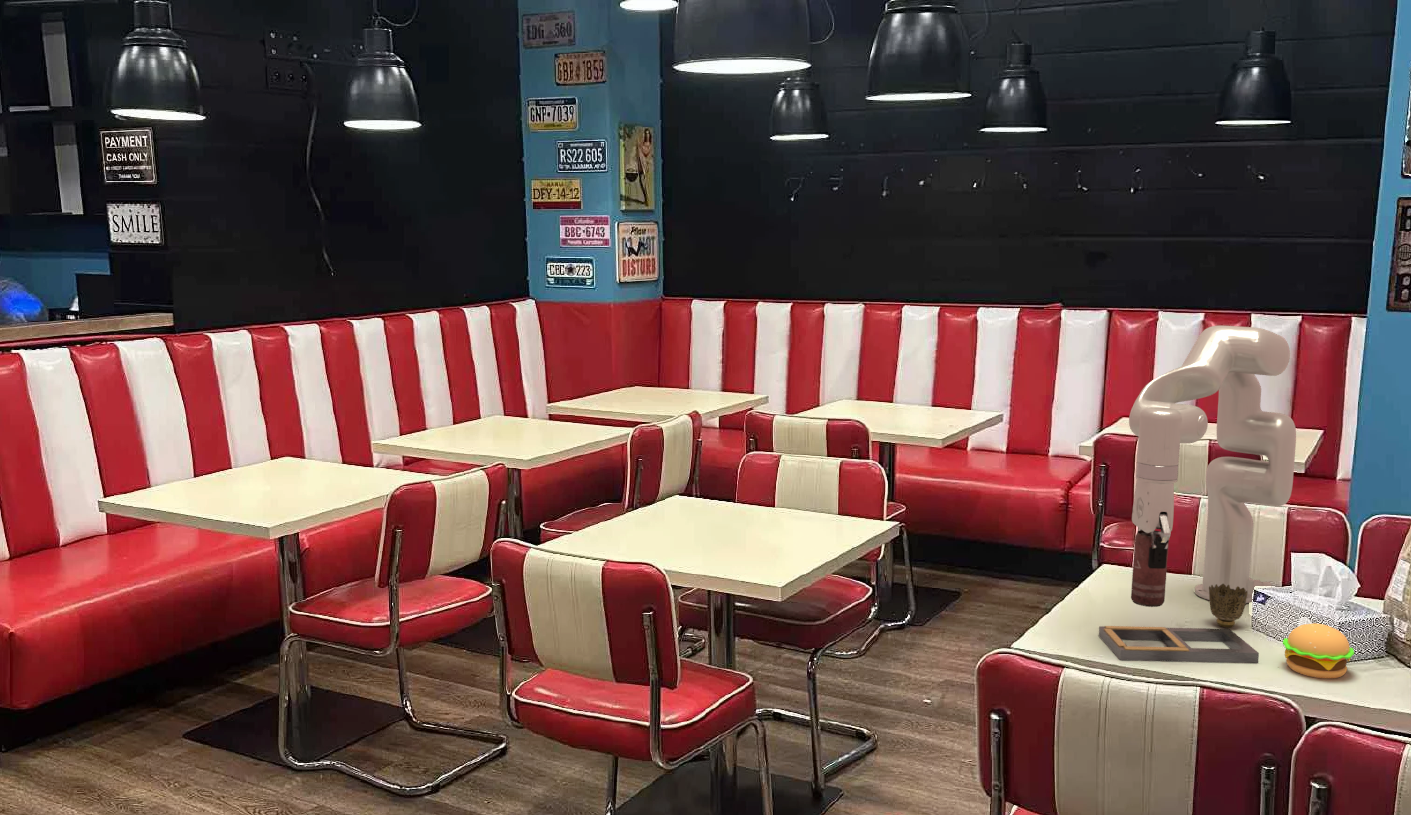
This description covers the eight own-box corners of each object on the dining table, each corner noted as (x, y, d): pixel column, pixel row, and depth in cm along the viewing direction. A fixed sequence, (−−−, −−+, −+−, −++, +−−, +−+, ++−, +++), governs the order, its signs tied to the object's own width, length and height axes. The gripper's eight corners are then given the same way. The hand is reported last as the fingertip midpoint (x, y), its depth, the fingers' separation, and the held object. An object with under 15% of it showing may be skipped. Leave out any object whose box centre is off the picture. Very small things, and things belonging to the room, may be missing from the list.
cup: (1250, 625, 253) (1253, 588, 252) (1237, 634, 248) (1240, 596, 247) (1214, 617, 258) (1216, 581, 257) (1200, 625, 253) (1203, 588, 252)
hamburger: (1268, 667, 229) (1272, 623, 228) (1300, 654, 237) (1303, 611, 235) (1333, 687, 220) (1337, 641, 219) (1363, 673, 227) (1368, 628, 226)
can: (1147, 609, 233) (1152, 538, 231) (1124, 599, 239) (1128, 530, 237) (1171, 605, 236) (1177, 535, 234) (1148, 596, 241) (1152, 527, 239)
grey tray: (1228, 638, 245) (1229, 627, 245) (1258, 663, 231) (1258, 652, 231) (1098, 635, 246) (1099, 625, 246) (1120, 660, 232) (1120, 649, 232)
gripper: (1123, 463, 242) (1117, 551, 245) (1152, 481, 225) (1145, 575, 228) (1161, 464, 242) (1155, 551, 245) (1193, 481, 225) (1186, 576, 228)
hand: (1150, 562), depth 236 cm, fingers closed on can, 6 cm apart
